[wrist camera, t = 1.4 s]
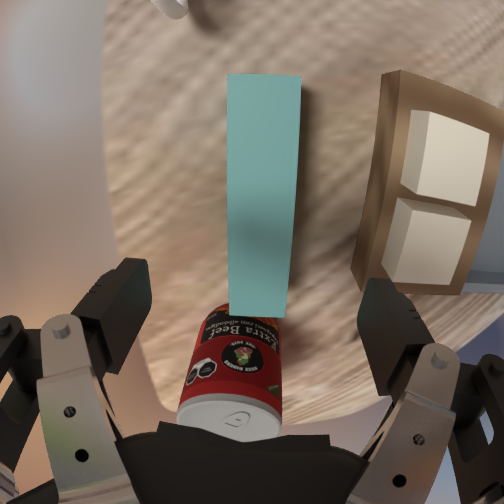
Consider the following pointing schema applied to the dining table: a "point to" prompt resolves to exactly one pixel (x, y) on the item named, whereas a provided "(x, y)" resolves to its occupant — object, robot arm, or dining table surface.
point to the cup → (172, 7)
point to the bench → (391, 166)
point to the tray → (490, 247)
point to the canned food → (234, 378)
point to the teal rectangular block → (261, 190)
